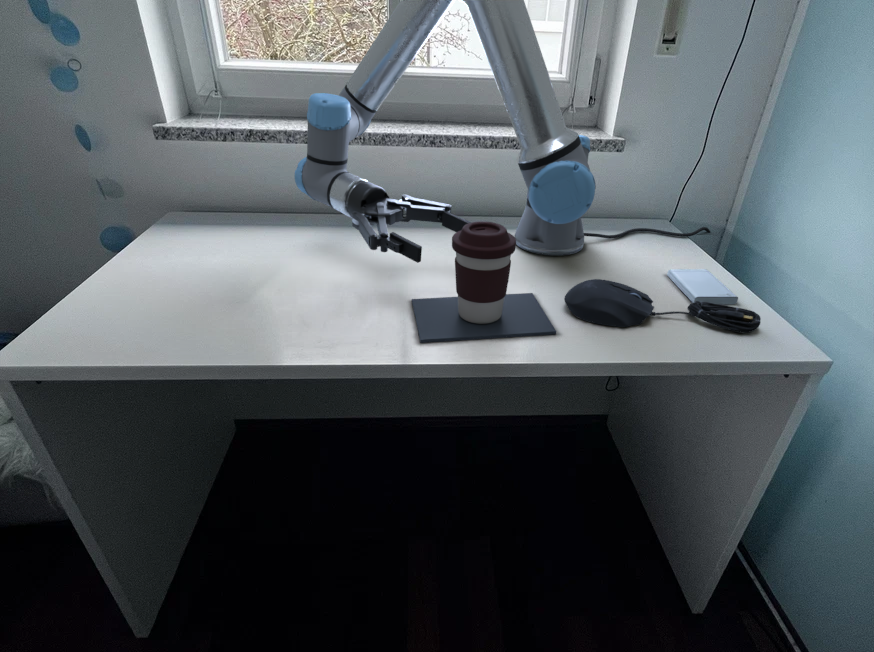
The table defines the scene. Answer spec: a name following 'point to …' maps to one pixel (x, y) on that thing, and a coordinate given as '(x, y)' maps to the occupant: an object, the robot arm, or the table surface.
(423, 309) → the mat
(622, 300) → the computer mouse
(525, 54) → the robot arm
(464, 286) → the coffee cup
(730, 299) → the hard drive
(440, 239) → the table surface
